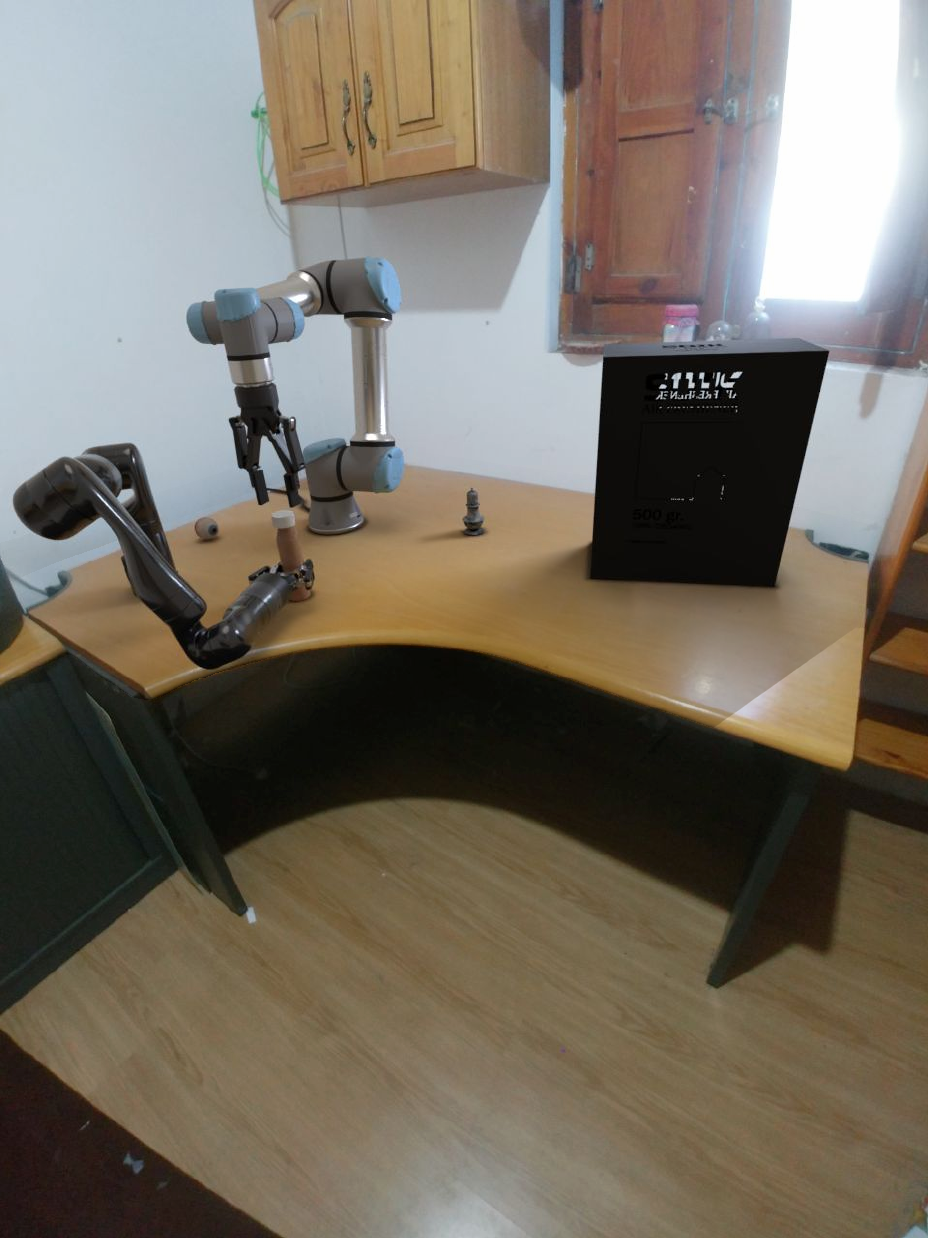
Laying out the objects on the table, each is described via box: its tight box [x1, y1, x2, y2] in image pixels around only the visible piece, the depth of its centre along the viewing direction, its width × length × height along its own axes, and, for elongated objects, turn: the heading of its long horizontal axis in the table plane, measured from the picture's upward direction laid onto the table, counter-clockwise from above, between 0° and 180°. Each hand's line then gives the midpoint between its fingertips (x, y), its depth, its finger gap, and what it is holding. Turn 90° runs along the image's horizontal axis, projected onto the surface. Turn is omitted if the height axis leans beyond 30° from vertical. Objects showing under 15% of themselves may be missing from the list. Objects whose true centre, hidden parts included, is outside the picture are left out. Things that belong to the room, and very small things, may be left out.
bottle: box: [275, 526, 311, 602], centre depth 128 cm, size 5×5×19 cm
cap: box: [270, 509, 296, 529], centre depth 124 cm, size 4×4×2 cm
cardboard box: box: [589, 337, 830, 587], centre depth 126 cm, size 38×20×45 cm, turn 78°
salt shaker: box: [461, 487, 485, 536], centre depth 157 cm, size 6×6×12 cm
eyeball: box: [194, 516, 220, 541], centre depth 163 cm, size 6×6×6 cm
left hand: (298, 562), depth 132 cm, fingers closed on bottle, 4 cm apart
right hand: (279, 504), depth 122 cm, fingers open, 7 cm apart
